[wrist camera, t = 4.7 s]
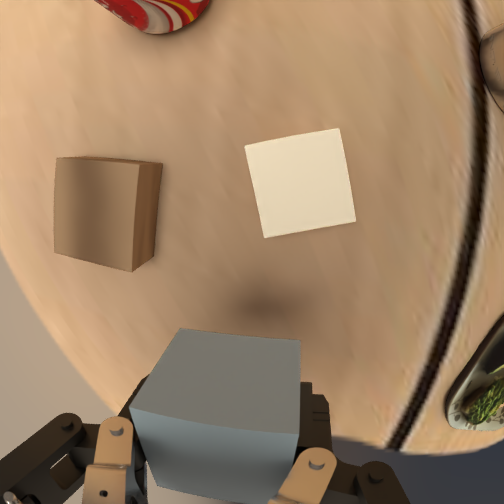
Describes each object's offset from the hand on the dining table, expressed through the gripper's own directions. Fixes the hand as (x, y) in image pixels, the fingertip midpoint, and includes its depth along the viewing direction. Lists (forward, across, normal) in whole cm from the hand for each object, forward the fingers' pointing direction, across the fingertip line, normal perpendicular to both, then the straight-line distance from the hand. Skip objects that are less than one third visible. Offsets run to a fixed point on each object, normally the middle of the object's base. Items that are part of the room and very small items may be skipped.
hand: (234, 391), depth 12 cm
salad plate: (+12, -28, +8) cm, 31 cm away
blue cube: (+1, 0, 0) cm, 1 cm away
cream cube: (+11, -2, -8) cm, 14 cm away
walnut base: (+11, +11, -6) cm, 17 cm away
